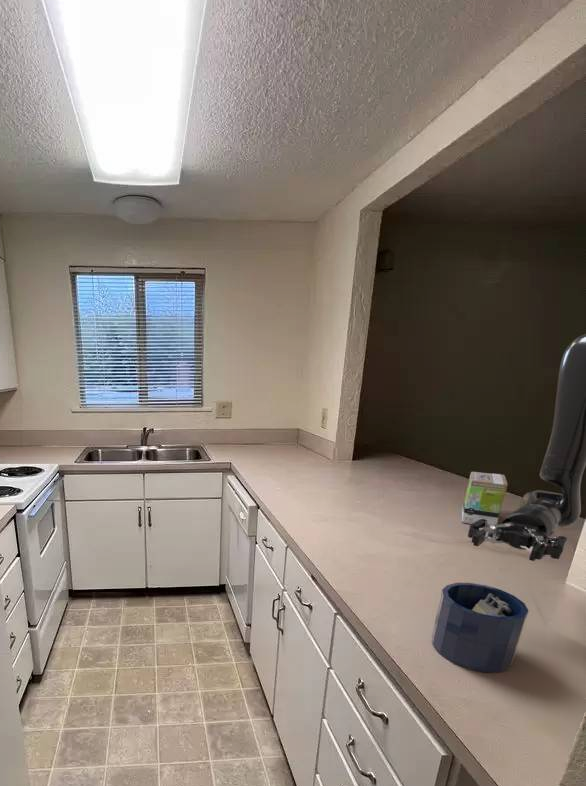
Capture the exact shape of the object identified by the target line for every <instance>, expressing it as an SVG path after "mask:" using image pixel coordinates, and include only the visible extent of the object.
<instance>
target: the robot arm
mask: <svg viewBox="0 0 586 786" xmlns="http://www.w3.org/2000/svg"><path fill="white" fill-rule="evenodd" d="M561 357H562V358H561V360H560V365H559V371H558V379H557V390H556V397H555V406H554V415H553V421H552V422H553V423H552V428H551V433H550V437H549V441H548V445H547V448H546V452H545V454H544V457H543V461H542V464H541V467H540V471H539V477H540V479H541V480H543V481H545V482H548V483H551V484H553V485H555V486H558V487H559V488H560V489H561V490H562V493H558V492H552V491H547V490H541V489H532V490H529V491H527V492H526V493H524V495H523V497H522V498H521V500H520V503H519V508H516V509H515V510H514V511H513V512H511V513H509V515H506V517H505V518H504V519H503V520H502V521H501V522H500V523H497V524H496V525H490V524H487V520H485V519H480V520H478V521H476V522H474V523H472V524H469V529H468V532H467V537H468V538H470V539H471V543H472V545H473V546H474V547H479V546H481V545H482V544H483V543H485V542H489V543H491V544H505V545H508V546H510V547H512V548H515V549H517V550H524V551H527V552H528V553H530V555H529V559H528V561H532V562H535V561H536V560H537V561H540V560H541V559H542V558H545V557H546V556H550V558H551V559H554V560H559V559H560V558H561V556H562V554H563V552H564V550H565V545H566V542H567V540H568V537H567V536H564V535H559V536H558V537H556V536H555V537H551V536H552V535H553V534H554V531H555V530H556V528H557V527H559V528H568V527H571V526H572V525H574V524H575V523H576V522H577V521H578V520H579V518H580V516H581V511H582V506H581V503H582V502H581V483H582V478H583V474H584V470H585V468H586V333H584V334H581V335H580V336H578V337H577V338H575V339H574V340H572V341H571V342H570V343H569V344H568V345H567V347H566V348H565V350H564V352H563V355H562V356H561ZM486 534H487V535H486Z"/></svg>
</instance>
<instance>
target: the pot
mask: <svg viewBox="0 0 586 786" xmlns="http://www.w3.org/2000/svg"><path fill="white" fill-rule="evenodd" d="M489 593H490V594H492V595H494V596H493V597H494V598H495V597H498V598H499V599H500V600H501V601H504V602H506V603H507V604H508V605H509V606H508V607H509V608H510V609H511V612H510V613H508V612H506V611H505V610H503V611H502V612H503V614H504V615H505V616H506V617H497V616H491V615H485V614H481V613H478V612H475V611H472V609H473V607H474V606H475V605H476V604H478V602H479V601H480V600H481V599H483V600H485V599H486V598H487V596H488V595H489ZM492 601H493V599H490V601H489V603H491V602H492ZM497 605H498V603H496V604H495V607H497V608H498V606H497ZM529 611H530V610H529V609H528V607H527V605H526V603H525V602H524V601H523V600H521V599H519V598H518V597H517V596H515V595H513V594H511V593H509V592H507V591H505V590H502V589H500V588H496V587H493V586H489V585H487V584H479V583H474V582H454V583H450V584H447V585H445V586H444V587H443V588H442V590H441V594H440V597H439V603H438V607H437V612H436V616H435V620H434V624H433V625H434V626H433V630H432V635H431V644H432V646H433V648H434V650H435V651H436V652H437V653H438V654H439V655H440V656H442V657H443V658H444V659H446V660H447V661H449V662H451V663H453V664H455V665H457V666H459V667H462V668H464V669H467V670H470V671H473V672H474V671H475V672H479V673H484V674H485V673H486V674H498V673H503V672H505V671H508V670H509V669H510V668H511V667H512V664H513V662H514V660H515V658H516V657H515V656H516V653H517V651H518V647H519V643H520V641H521V637H522V634H523V631H524V628H525V624H526V620H527V618H528V614H529Z"/></svg>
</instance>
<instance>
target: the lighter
mask: <svg viewBox="0 0 586 786" xmlns="http://www.w3.org/2000/svg"><path fill="white" fill-rule="evenodd" d="M493 596H494V595H492V594H490V593H489V595H488V596H487V598H486V599H485V600H483V599H481V600H480V601H479V602H478V604H476V605H475V606H474V607H473V609H472V611H475V612H478V613H481V614H485V615H491V616H497V617H506V616H505V615H504V614H503V612H502V611H503V610H505V611H506V612H508V613H510V612H511V609H510V608H509V607H508V606H509V605H508V604H507V603H506V602H504V601H501V600H500V599H499V598H498V597H495V598H494V597H493ZM490 599H493V601H492V602H491V603H489V601H490ZM496 603H498V605H497V606H498V608H497V607H495V604H496Z"/></svg>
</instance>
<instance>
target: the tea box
mask: <svg viewBox="0 0 586 786" xmlns="http://www.w3.org/2000/svg"><path fill="white" fill-rule="evenodd" d="M508 486H509V485H508V480H507V478H506V475H505V474H501V473H490V472H480V471H471V472H470V474H469V478H468V482H467V486H466V491H465V495H464V499H463V503H462V508H461V523H463V524H469V525H471V524H472V523H474V522H476V521H478V520H480V519H485V520H487V524H490V525H496V524H498V522H499V518H500V514H501V511H502V507H503V504H504V500H505V497H506V493H507V490H508Z"/></svg>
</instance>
